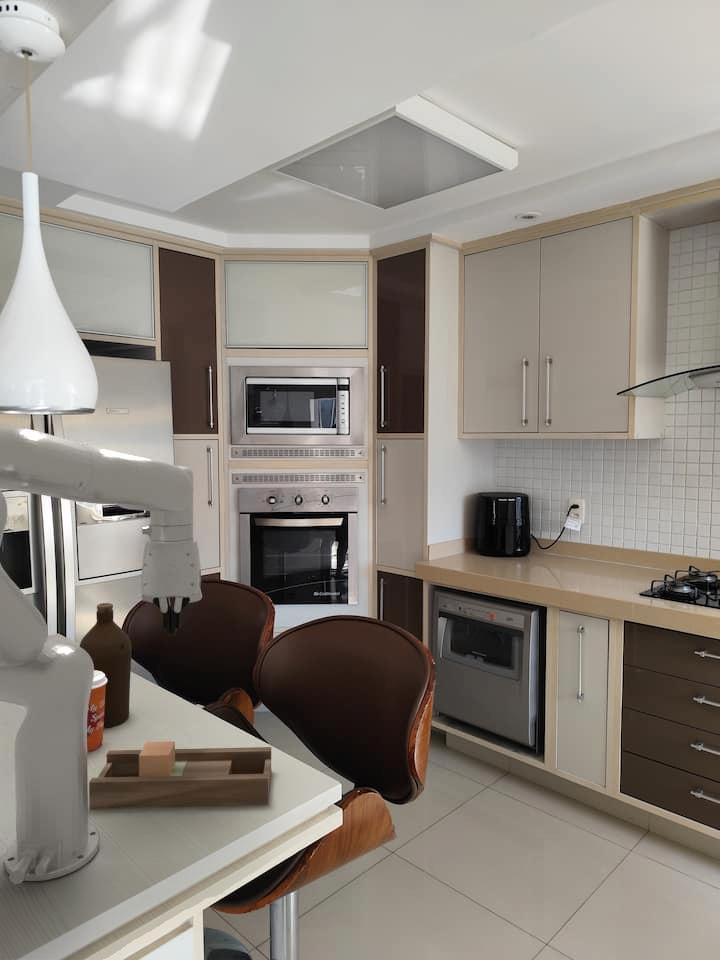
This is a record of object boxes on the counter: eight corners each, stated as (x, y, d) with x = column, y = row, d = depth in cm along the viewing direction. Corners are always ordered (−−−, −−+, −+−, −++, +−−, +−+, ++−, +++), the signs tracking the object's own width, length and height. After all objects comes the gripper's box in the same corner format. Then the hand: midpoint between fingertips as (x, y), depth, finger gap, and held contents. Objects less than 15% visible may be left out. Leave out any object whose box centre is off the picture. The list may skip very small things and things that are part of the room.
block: (169, 777, 113) (169, 755, 113) (139, 778, 113) (139, 755, 112) (174, 763, 118) (174, 741, 118) (146, 763, 118) (146, 741, 117)
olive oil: (137, 708, 148) (137, 598, 146) (124, 730, 137) (123, 611, 136) (88, 709, 147) (87, 598, 145) (71, 730, 137) (69, 611, 135)
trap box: (267, 804, 111) (267, 778, 111) (89, 809, 109) (89, 782, 108) (271, 770, 122) (271, 747, 122) (109, 774, 120) (109, 750, 119)
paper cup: (93, 757, 126) (92, 685, 125) (57, 752, 127) (56, 681, 126) (116, 738, 133) (115, 670, 132) (82, 734, 135) (81, 667, 134)
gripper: (124, 536, 116) (125, 638, 118) (210, 536, 118) (210, 638, 119) (135, 530, 124) (135, 626, 125) (216, 530, 125) (216, 625, 126)
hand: (172, 631), depth 122 cm, fingers closed
